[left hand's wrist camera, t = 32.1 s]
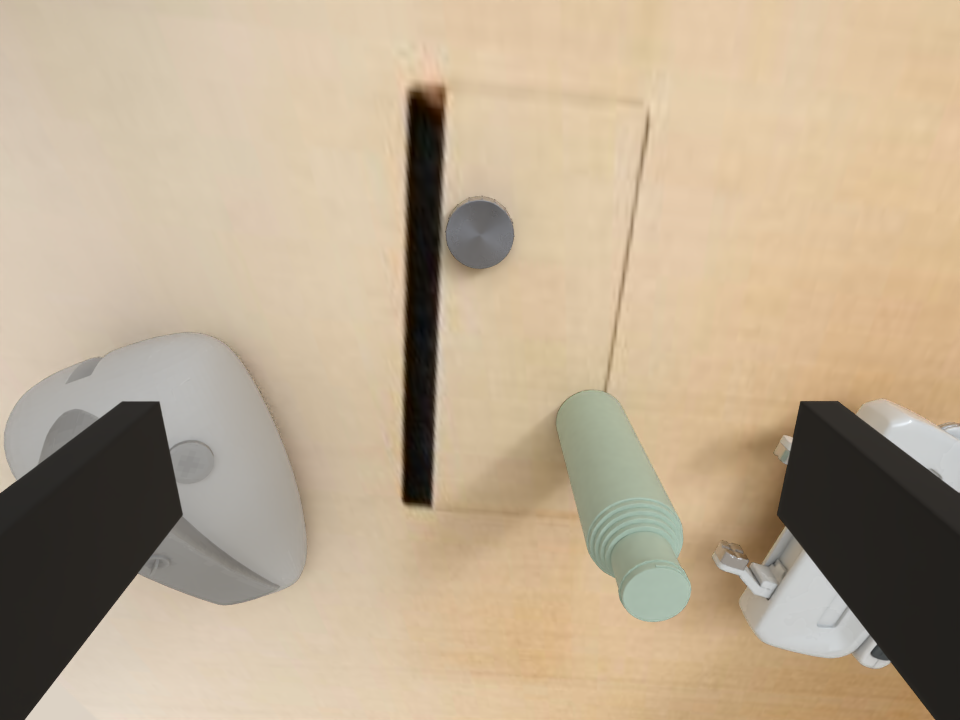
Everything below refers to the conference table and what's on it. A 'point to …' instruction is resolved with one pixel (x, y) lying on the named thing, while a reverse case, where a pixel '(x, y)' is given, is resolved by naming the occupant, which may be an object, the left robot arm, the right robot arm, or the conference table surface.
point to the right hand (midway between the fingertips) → (748, 502)
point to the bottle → (623, 506)
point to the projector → (187, 460)
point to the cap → (479, 232)
